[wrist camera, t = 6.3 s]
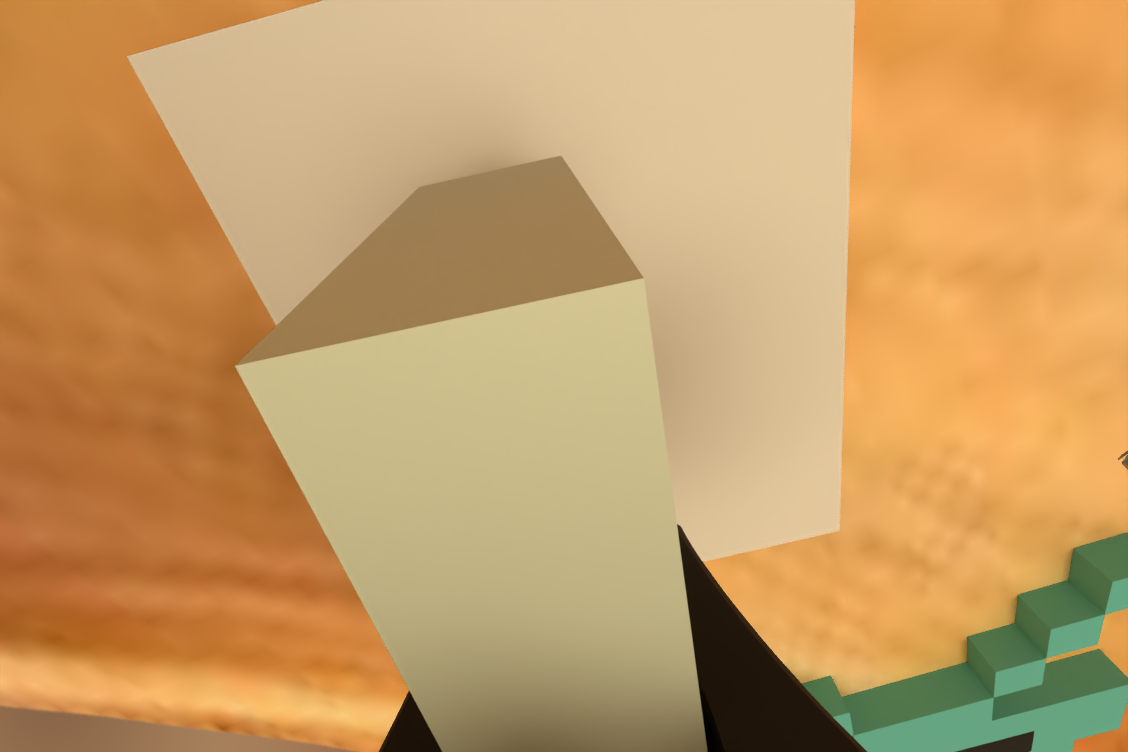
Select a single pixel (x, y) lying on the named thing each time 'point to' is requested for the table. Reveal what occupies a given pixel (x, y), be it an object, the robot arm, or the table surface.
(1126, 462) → the hacksaw
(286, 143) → the rubber mat
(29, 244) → the table surface
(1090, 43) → the table surface
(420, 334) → the sage board
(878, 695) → the alien figure
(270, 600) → the table surface
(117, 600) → the table surface
